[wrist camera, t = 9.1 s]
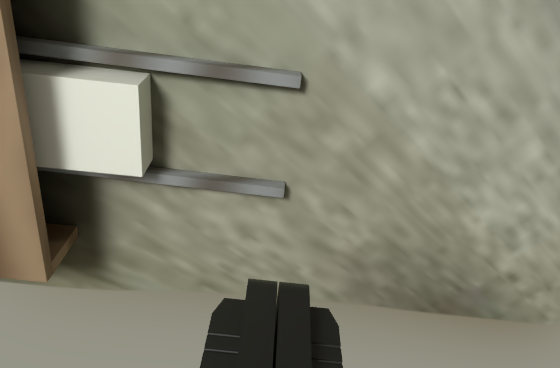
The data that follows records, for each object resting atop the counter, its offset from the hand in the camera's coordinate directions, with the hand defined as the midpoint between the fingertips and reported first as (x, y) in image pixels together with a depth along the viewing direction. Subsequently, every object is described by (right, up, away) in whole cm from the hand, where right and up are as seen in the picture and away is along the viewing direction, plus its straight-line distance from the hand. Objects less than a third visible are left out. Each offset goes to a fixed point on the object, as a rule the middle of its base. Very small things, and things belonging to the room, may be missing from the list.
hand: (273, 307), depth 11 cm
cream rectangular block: (-15, +9, +20) cm, 27 cm away
